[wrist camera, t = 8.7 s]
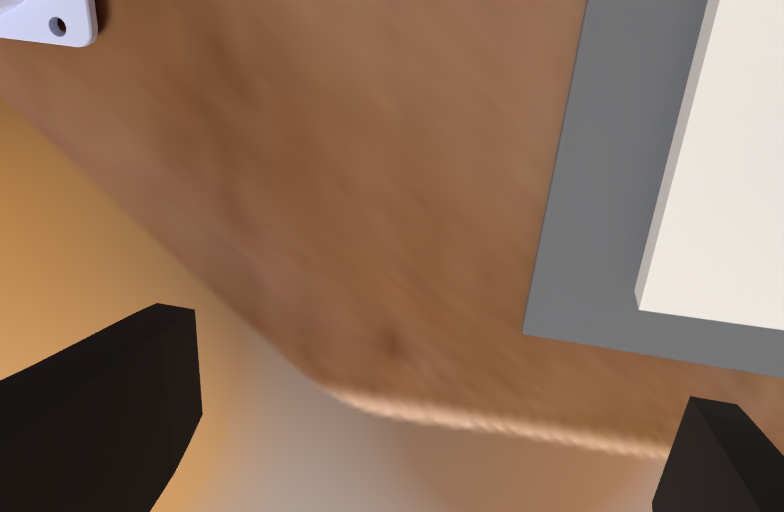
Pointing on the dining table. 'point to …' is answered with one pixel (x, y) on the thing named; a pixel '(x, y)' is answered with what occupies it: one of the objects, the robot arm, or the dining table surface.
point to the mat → (625, 194)
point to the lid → (724, 177)
